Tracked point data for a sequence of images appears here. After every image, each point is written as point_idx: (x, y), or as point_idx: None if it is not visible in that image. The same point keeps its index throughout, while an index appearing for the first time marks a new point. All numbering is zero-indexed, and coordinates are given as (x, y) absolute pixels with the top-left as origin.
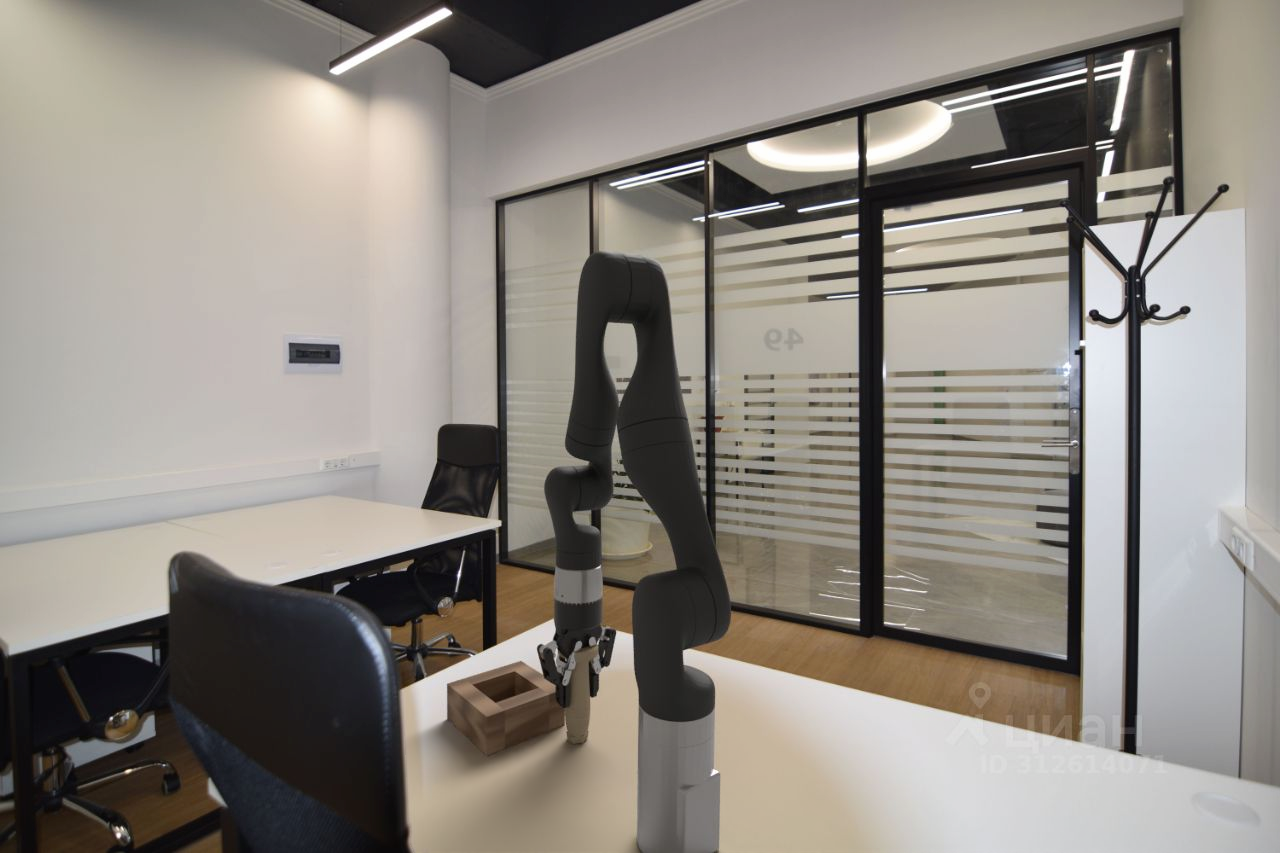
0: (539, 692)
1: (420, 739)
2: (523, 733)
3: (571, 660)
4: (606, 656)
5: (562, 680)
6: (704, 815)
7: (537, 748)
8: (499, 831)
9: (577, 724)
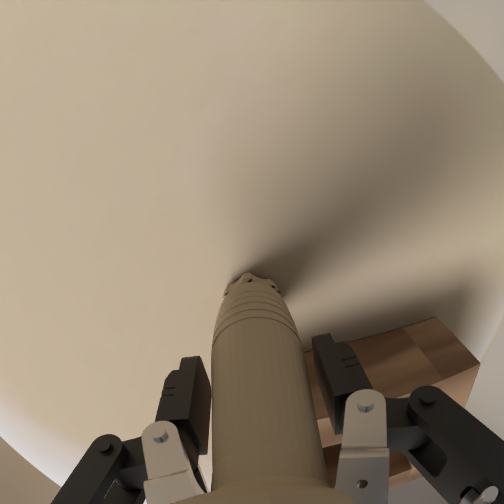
0: (328, 433)
1: None
2: (368, 348)
3: (379, 493)
4: (100, 475)
5: (385, 406)
6: None
7: (352, 302)
8: (495, 96)
9: (272, 295)
